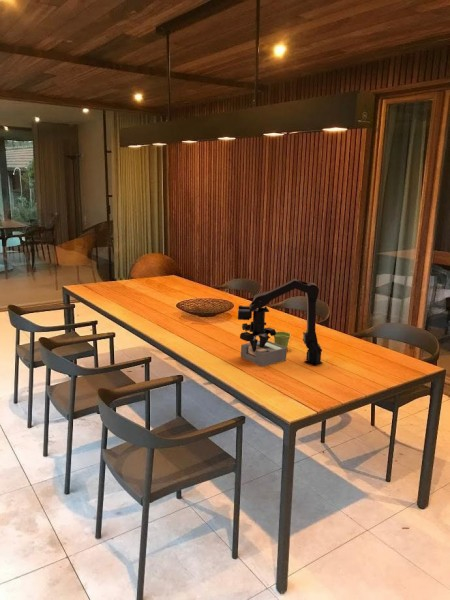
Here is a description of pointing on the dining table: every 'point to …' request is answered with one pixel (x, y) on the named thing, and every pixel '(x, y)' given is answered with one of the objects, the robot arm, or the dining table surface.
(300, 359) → the dining table surface
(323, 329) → the dining table surface
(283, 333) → the plant pot
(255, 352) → the maple block
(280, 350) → the jig board
